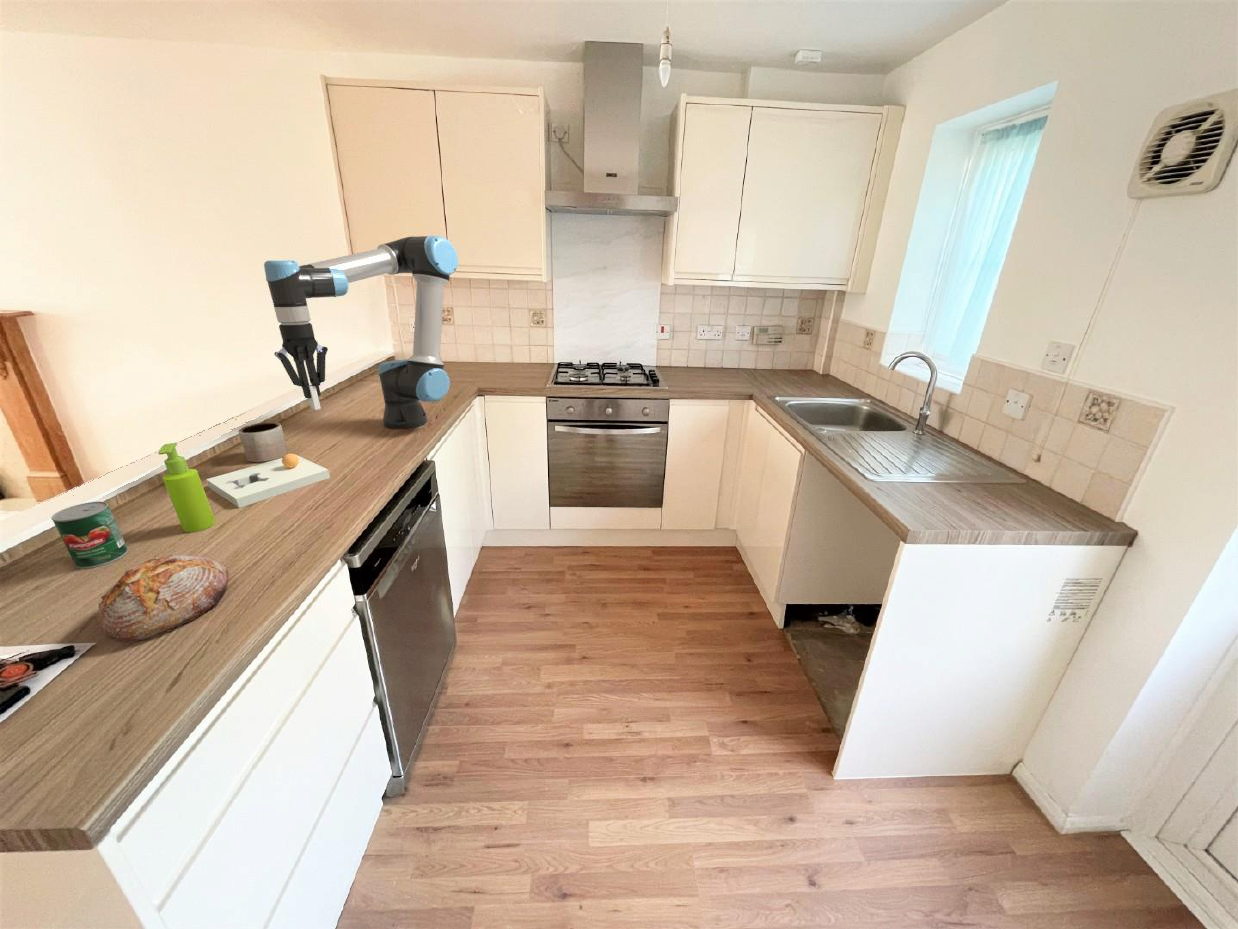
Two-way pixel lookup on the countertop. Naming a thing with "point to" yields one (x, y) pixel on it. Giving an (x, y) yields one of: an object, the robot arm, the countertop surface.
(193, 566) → the bread
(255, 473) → the plate
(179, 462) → the soap dispenser
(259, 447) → the planter
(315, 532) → the countertop surface
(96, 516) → the canned tomato
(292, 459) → the ball
